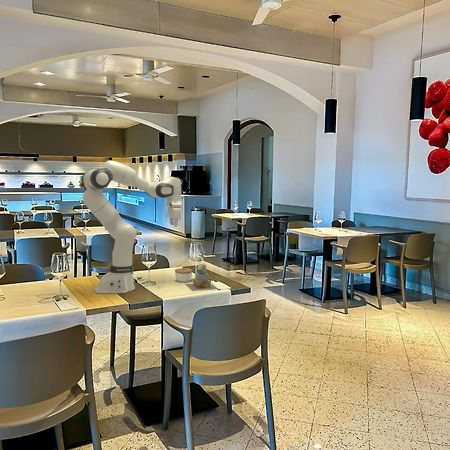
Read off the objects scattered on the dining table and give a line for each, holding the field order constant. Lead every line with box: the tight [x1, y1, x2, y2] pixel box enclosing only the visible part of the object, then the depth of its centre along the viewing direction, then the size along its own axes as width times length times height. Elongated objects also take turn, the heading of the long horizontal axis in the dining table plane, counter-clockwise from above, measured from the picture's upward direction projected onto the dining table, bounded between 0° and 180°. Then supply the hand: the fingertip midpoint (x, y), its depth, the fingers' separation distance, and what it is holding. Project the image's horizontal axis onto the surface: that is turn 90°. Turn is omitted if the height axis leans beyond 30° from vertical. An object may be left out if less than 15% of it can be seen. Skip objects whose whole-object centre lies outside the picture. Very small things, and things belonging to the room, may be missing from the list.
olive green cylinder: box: [197, 263, 207, 274], centre depth 255 cm, size 5×5×5 cm
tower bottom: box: [192, 278, 211, 289], centre depth 256 cm, size 8×8×4 cm
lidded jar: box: [174, 266, 193, 283], centre depth 268 cm, size 11×11×9 cm
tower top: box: [194, 271, 209, 282], centre depth 255 cm, size 6×6×4 cm
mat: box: [185, 282, 219, 292], centre depth 256 cm, size 16×16×1 cm
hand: (173, 225), depth 265 cm, fingers open, 8 cm apart
